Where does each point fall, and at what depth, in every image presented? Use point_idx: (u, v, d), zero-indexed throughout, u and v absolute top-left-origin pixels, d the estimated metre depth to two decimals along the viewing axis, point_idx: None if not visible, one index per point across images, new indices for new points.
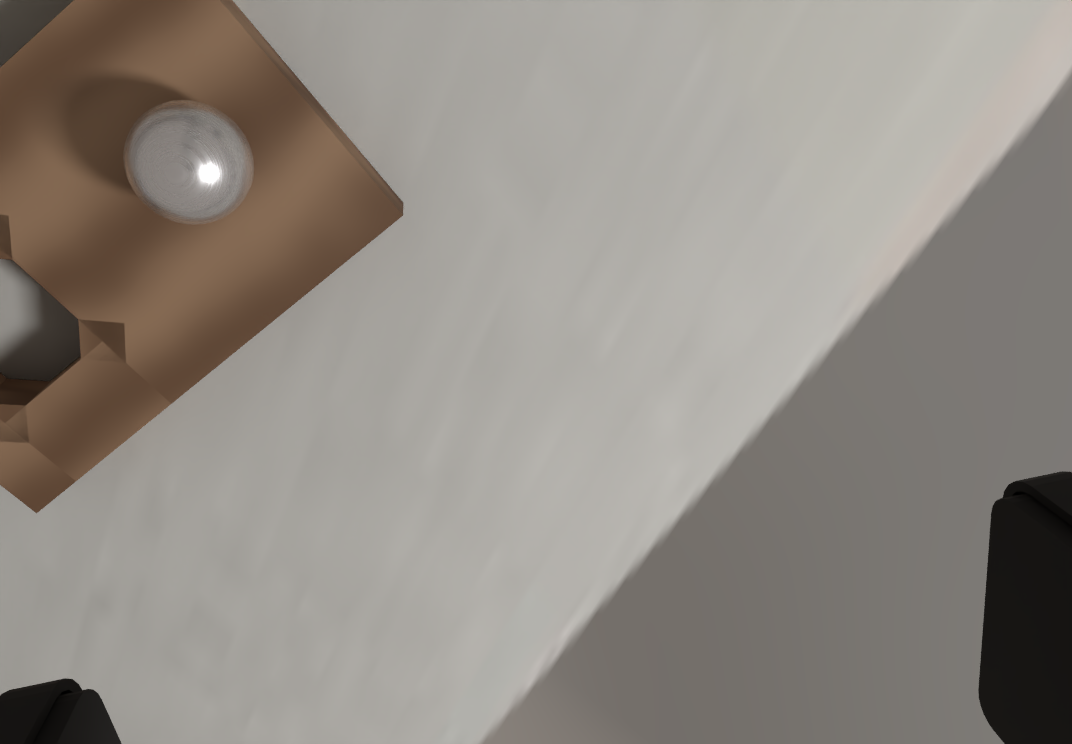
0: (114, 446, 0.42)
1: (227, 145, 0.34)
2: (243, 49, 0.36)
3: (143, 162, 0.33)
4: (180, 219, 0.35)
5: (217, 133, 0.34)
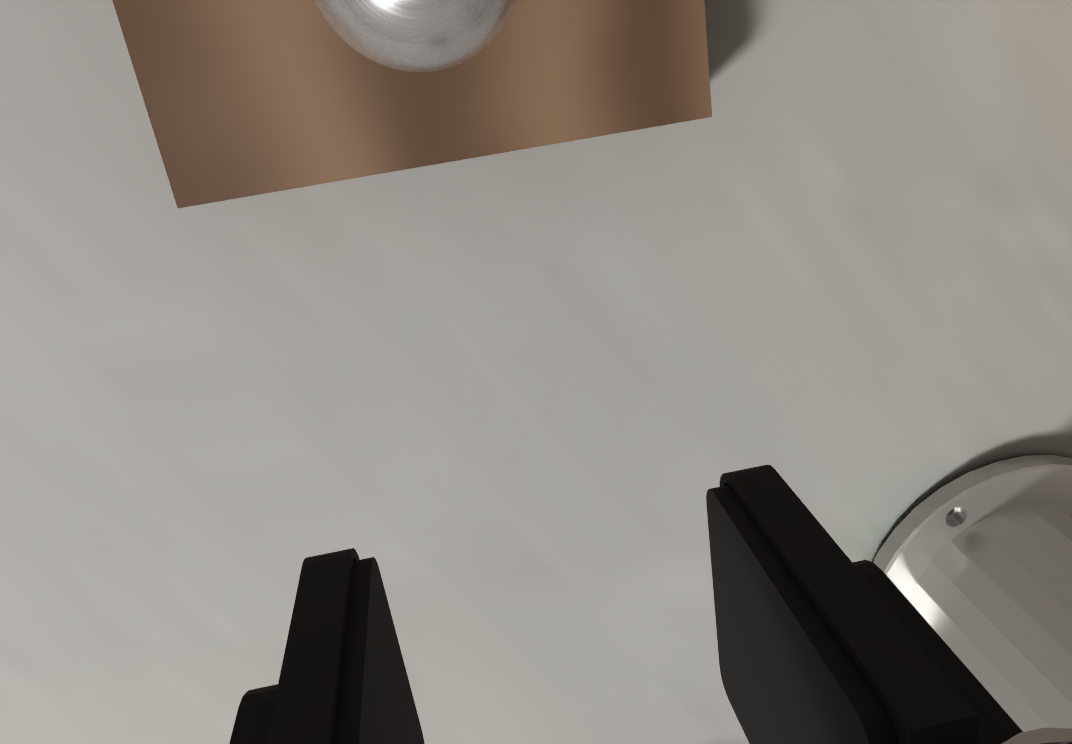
0: None
1: (414, 53, 0.19)
2: (521, 127, 0.24)
3: None
4: None
5: (439, 51, 0.19)
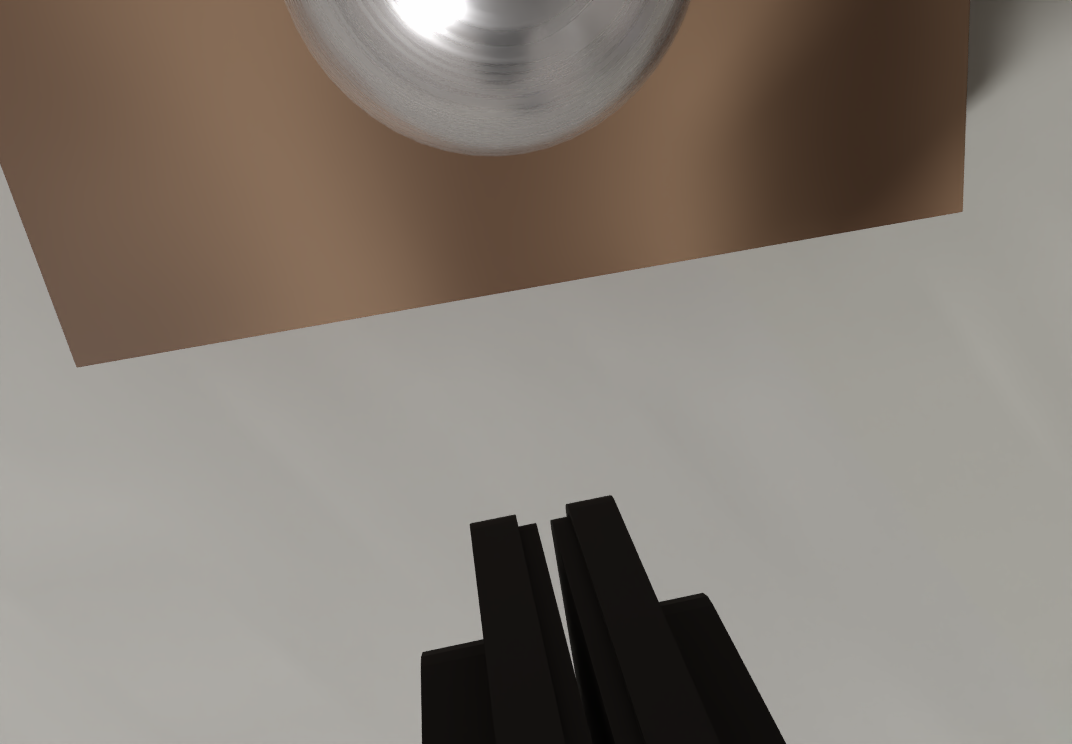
0: None
1: (487, 128, 0.09)
2: (649, 231, 0.14)
3: None
4: None
5: (538, 123, 0.09)
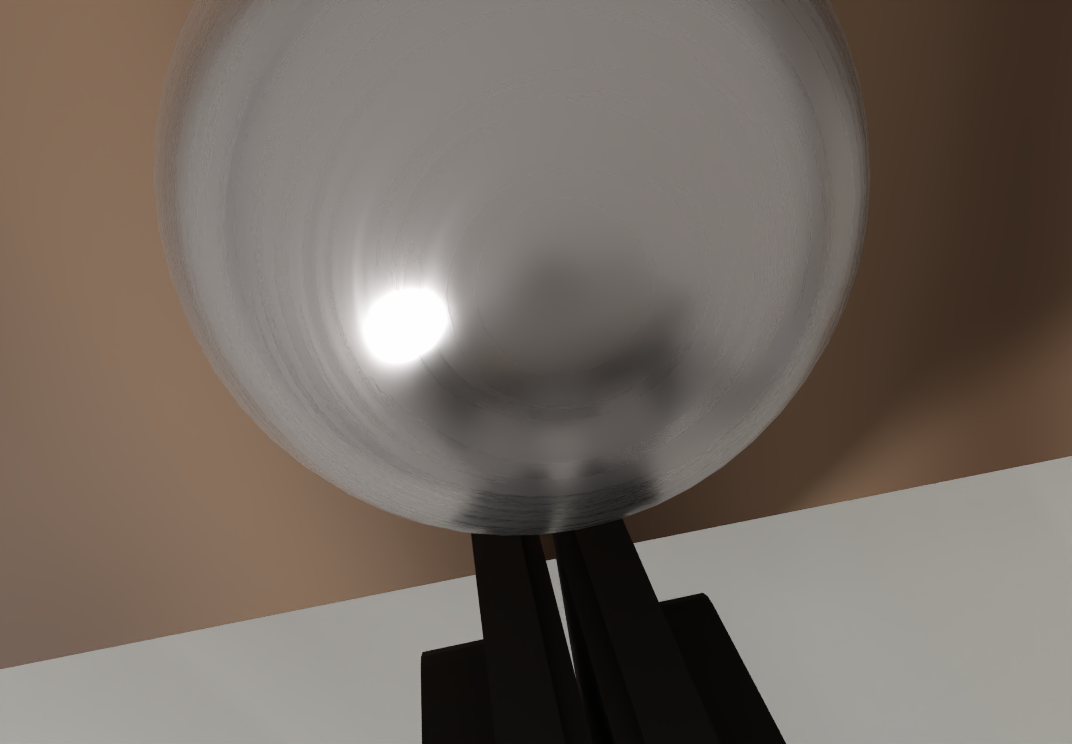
0: None
1: (519, 534, 0.06)
2: (711, 486, 0.11)
3: (742, 93, 0.04)
4: None
5: (600, 523, 0.06)
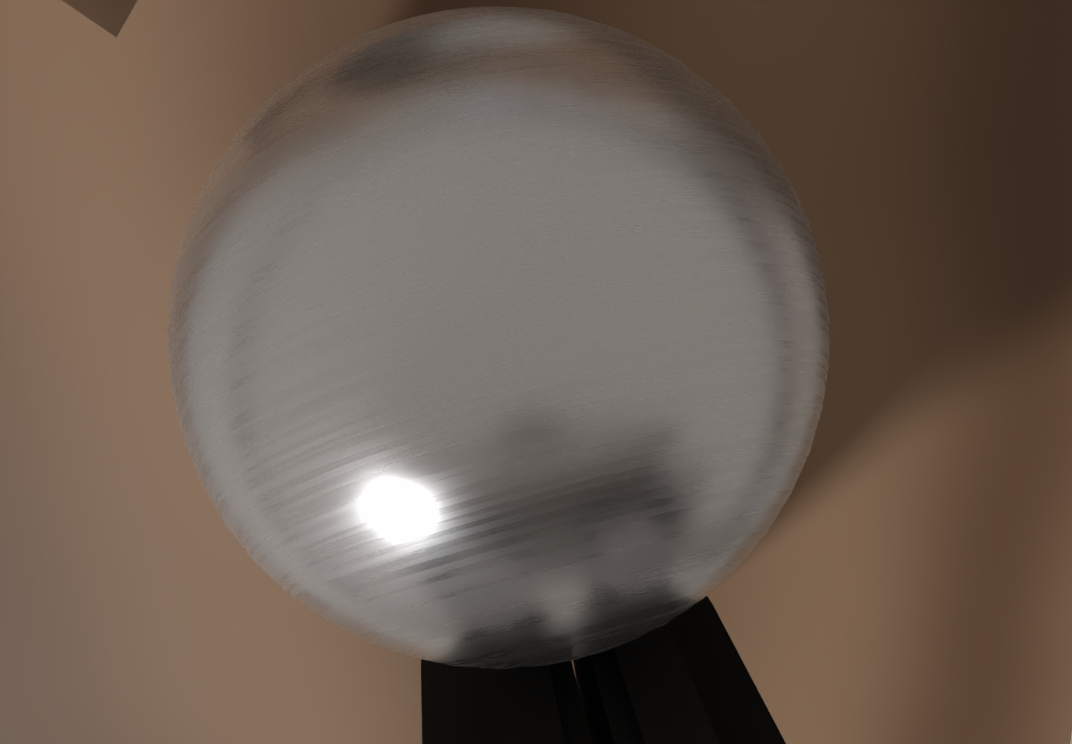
0: None
1: (352, 61, 0.05)
2: None
3: None
4: None
5: (438, 33, 0.05)
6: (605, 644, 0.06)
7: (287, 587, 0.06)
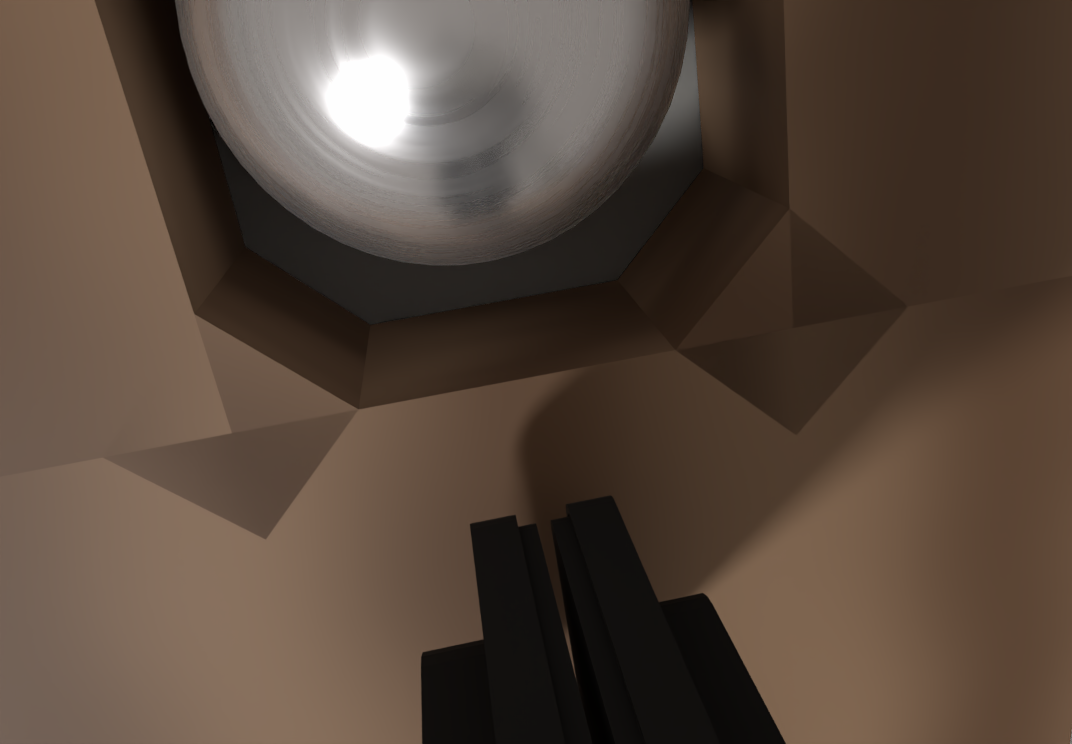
0: None
1: (409, 250, 0.08)
2: None
3: None
4: None
5: (468, 249, 0.08)
6: None
7: None
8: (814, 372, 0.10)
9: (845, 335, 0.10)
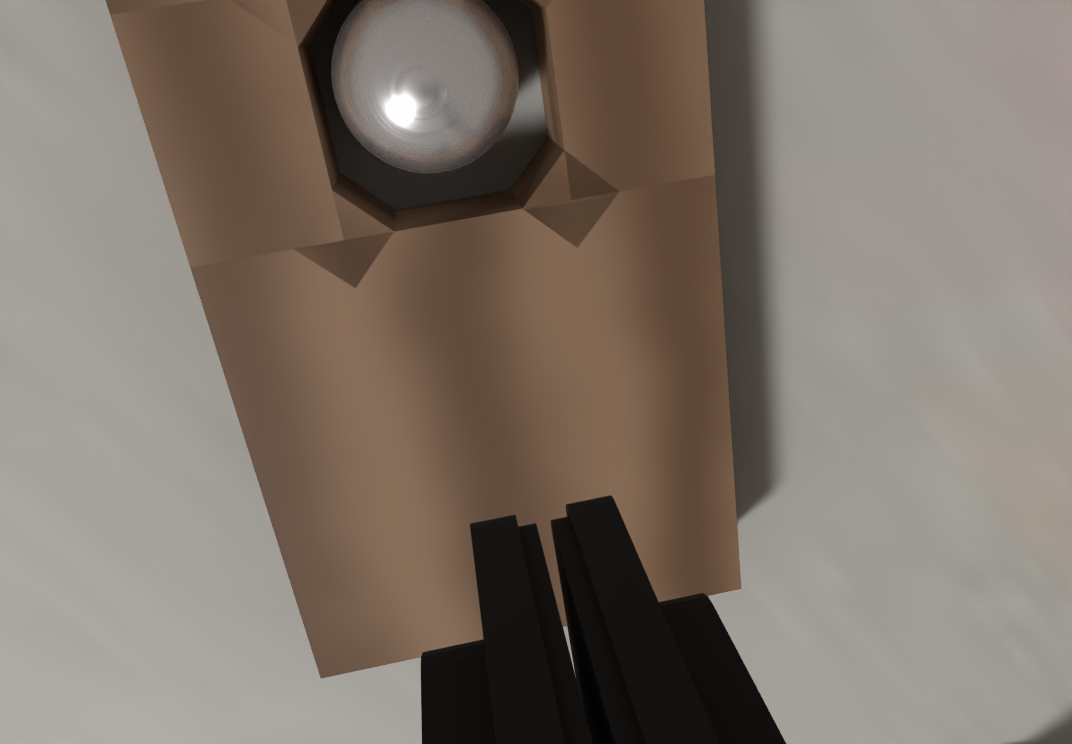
0: (152, 130, 0.22)
1: (415, 165, 0.23)
2: None
3: (458, 53, 0.21)
4: (358, 23, 0.21)
5: (436, 164, 0.23)
6: None
7: None
8: (582, 219, 0.25)
9: (593, 203, 0.24)
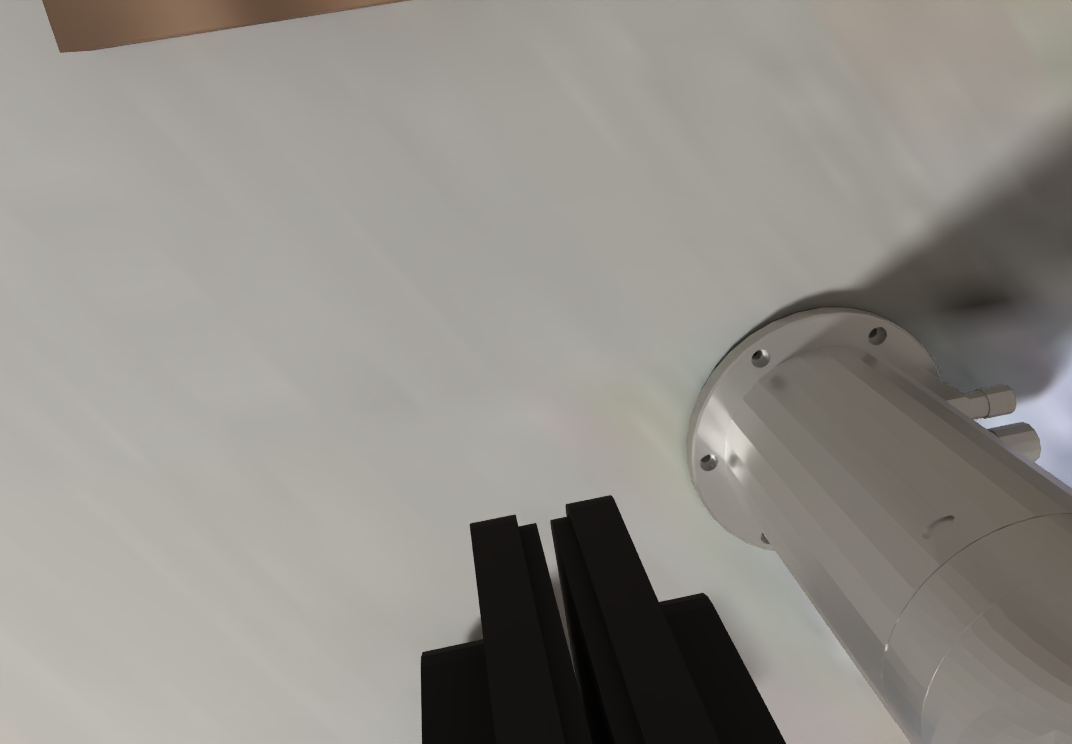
0: None
1: None
2: None
3: None
4: None
5: None
6: None
7: None
8: None
9: None
